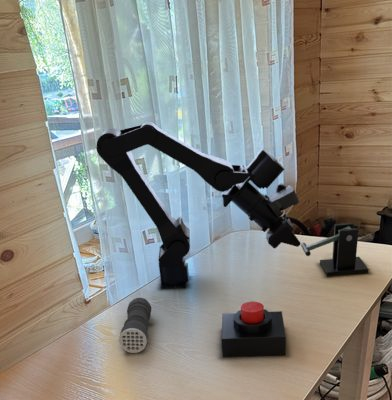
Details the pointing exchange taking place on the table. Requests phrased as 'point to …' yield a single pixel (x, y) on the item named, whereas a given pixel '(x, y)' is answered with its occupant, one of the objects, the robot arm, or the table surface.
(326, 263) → the switch bracket
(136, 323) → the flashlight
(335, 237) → the switch lever
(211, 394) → the table surface
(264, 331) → the stop box
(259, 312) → the stop button
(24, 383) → the table surface
